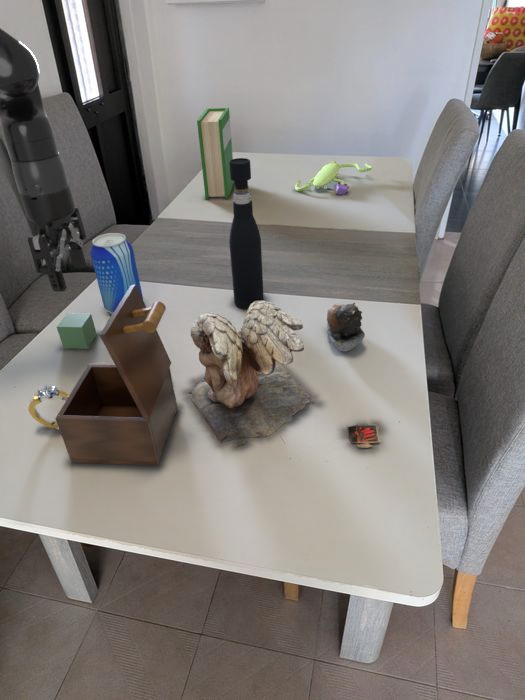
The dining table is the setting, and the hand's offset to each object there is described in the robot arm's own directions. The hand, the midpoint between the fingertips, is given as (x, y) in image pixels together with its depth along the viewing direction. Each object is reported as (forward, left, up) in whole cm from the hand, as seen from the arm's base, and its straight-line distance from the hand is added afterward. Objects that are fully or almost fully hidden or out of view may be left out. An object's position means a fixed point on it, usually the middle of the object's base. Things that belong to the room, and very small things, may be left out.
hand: (70, 278), depth 90 cm
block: (-4, +4, -16) cm, 17 cm away
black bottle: (+28, +20, -16) cm, 38 cm away
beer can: (+1, +17, -16) cm, 23 cm away
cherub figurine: (+32, -12, -16) cm, 38 cm away
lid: (+18, -21, 0) cm, 28 cm away
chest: (+14, -21, -16) cm, 30 cm away
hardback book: (+10, +95, -16) cm, 97 cm away
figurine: (+48, +100, -16) cm, 112 cm away
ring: (+2, -20, -16) cm, 26 cm away
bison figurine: (+48, +6, -16) cm, 51 cm away
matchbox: (+50, -20, -16) cm, 56 cm away
